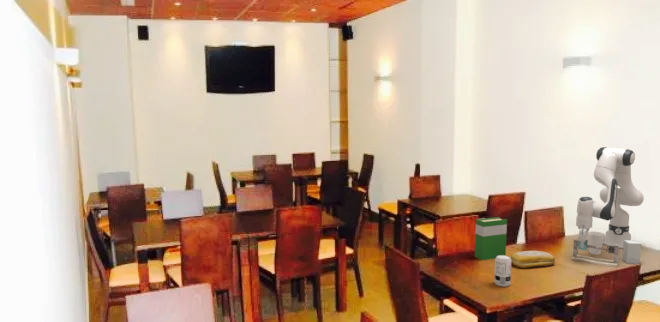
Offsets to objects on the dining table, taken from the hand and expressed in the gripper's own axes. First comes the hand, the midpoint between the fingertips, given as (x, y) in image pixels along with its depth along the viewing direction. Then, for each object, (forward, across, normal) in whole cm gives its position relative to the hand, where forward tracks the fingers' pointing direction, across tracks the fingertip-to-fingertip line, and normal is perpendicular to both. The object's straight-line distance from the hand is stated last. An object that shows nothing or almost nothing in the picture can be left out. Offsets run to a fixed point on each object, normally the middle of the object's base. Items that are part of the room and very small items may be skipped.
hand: (582, 245), depth 310 cm
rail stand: (+9, 0, -7) cm, 11 cm away
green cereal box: (+9, -23, +50) cm, 56 cm away
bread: (+10, -25, +25) cm, 37 cm away
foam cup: (+9, +19, -6) cm, 22 cm away
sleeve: (+2, 0, 0) cm, 2 cm away
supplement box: (+9, +11, -26) cm, 30 cm away
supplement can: (+9, -67, +33) cm, 75 cm away
